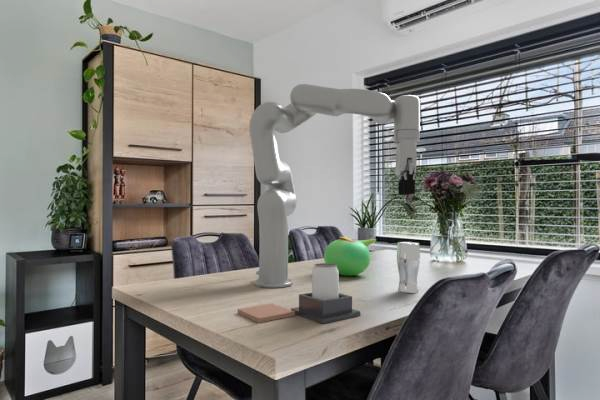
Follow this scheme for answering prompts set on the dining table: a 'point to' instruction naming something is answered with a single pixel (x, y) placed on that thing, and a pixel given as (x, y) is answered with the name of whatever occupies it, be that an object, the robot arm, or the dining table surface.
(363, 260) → the green round teapot
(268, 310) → the mat
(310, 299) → the sleeve
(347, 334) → the dining table surface
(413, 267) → the beer glass
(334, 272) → the can
